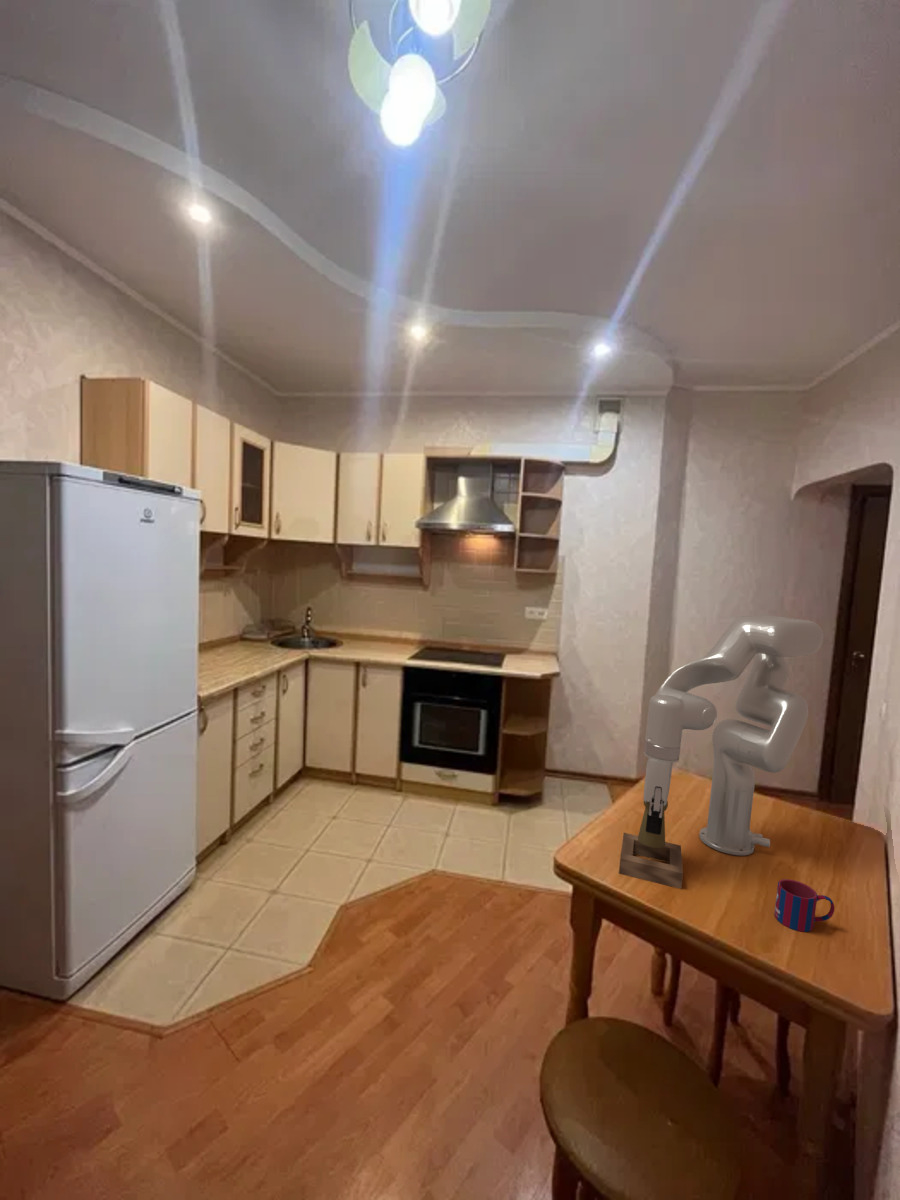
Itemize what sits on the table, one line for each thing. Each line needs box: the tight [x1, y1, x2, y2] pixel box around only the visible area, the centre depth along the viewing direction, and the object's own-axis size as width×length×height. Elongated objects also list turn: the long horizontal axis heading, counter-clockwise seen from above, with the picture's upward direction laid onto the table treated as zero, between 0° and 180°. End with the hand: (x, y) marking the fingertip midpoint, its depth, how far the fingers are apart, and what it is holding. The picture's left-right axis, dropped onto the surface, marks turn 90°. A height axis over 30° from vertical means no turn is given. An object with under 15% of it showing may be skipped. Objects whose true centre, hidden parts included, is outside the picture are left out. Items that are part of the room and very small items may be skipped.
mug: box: [774, 878, 835, 933], centre depth 112 cm, size 7×10×7 cm
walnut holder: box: [618, 832, 684, 889], centre depth 130 cm, size 13×13×4 cm
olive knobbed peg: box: [637, 799, 669, 848], centre depth 129 cm, size 6×6×11 cm
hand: (653, 827), depth 129 cm, fingers closed on olive knobbed peg, 4 cm apart
